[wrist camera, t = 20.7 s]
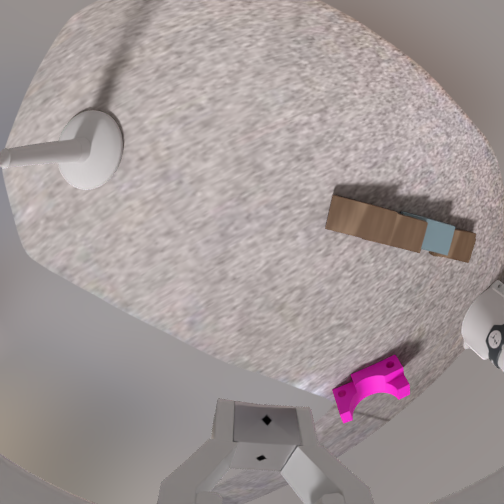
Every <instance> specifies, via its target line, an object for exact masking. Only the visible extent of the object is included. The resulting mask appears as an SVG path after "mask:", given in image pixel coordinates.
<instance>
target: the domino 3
mask: <svg viewBox="0 0 504 504" xmlns="http://www.w3.org/2000/svg"><path fill="white" fill-rule="evenodd" d="M401 214H403V215H406V216H410V217H414V218H417V219H421V220H424V221H426V222H428V225H427V229H426V233H425V236H424V240H423V244H422V247H421V249H424V250H428V251H432V252H436V253H440V254H444V255H447V256H448V252H449V249H450V245H451V242H452V238H453V234H454V230H455V226H453V225H451V224H447V223H444V222H440V221H437V220H433V219H430V218H426V217H422V216H419V215H415V214H411V213H407V212H403V211H401Z"/></svg>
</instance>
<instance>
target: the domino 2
mask: <svg viewBox="0 0 504 504" xmlns="http://www.w3.org/2000/svg"><path fill="white" fill-rule="evenodd" d="M427 225H428V222H426V221H424V220H421V219H417V218H414V217H410V216H406V215H403V214H399V213H398V214H397V218H396V222H395V225H394V229H393V233H392V236H391V240H390V243H389V245H390V246H394V247H398V248H402V249H406V250H410V251H414V252H417V253H420V251H421V247H422V244H423V240H424V236H425V233H426V229H427ZM362 239H364V238H362ZM365 240H368V239H365ZM369 241H372V240H369ZM373 242H375V241H373ZM377 243H379V242H377ZM381 244H383V243H381ZM386 245H387V244H386Z"/></svg>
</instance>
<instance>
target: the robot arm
mask: <svg viewBox="0 0 504 504" xmlns="http://www.w3.org/2000/svg"><path fill="white" fill-rule="evenodd" d="M498 285H499V287H498ZM462 336H463V339H464V348H465V349H469V348H471V349H472V350H473V351H474V352H476V353H477V354H478V355H479V356H480V357H481V358H482V359H488V358H489V359H490V360H491V362H492V363H493V364H494V365H495V366H496V367H497V368H500V369H501V370H502V371H503V372H504V284H503V283H502V282H501V281H499V280H496V281H495V282H494V283H493V284H492V285H491V286H490V288H488V289H487V290H486V291H484V292H483V293H482V294H480V295H479V296H478V297H477V298H476V299H475V301H474V302H473V303H472V305H471V306H470V308H469V309H468V311H467V313H466V315H465V317H464V320H463V323H462ZM229 468H233V469H247V470H264V471H281V472H280V473H281V474H282V476H283V477H284V478H285V480H286V481H287V482H288V484H289V485H290V486H291V487H292V489H293V490H294V491H295V493H296V494H297V495H298V496H299V498H300V499H301V500H302V501H303V503H304V504H374V502H373V498H372V495H371V491H370V488H369V487H368V486H367V485H366V484H365V483H364V482H362V481H361V480H360V479H359V478H358V477H357V476H356V475H355V474H353V473H352V472H351V471H350V470H349V469H348V468H347V467H346V466H345V465H343V464H342V463H341V462H340V461H339V460H338V459H337V458H336V457H335V456H334V455H333V454H332V453H331V452H329V451H328V450H327V449H326V448H325V447H324V446H319V443H318V438H317V434H316V429H315V425H314V420H313V416H312V412H311V409H310V408H309V407H293V406H281V405H266V404H264V405H262V404H253V403H246V402H240V401H232V400H226V399H220V398H218V400H217V405H216V410H215V415H214V420H213V426H212V433H211V439H209V440H207V441H206V442H205V443H204V444H203V445H202V446H201V447H200V448H199V449H198V450H197V451H196V452H195V453H194V454H192V455H191V456H190V457H189V458H188V459H187V460H186V461H185V462H184V463H183V464H182V465H180V466H179V467H178V468H177V469H176V470H175V471H174V472H173V473H171V474H170V475H169V476H168V477H167V478H166V479H164V480H163V481H162V482H161V486H160V491H159V496H158V501H157V504H222V496H220V495H219V494H218V493H215V492H210V491H211V490H212V489H213V488H214V487H215V486H216V484H217V483H218V482H219V481H220V480H221V478H222V477H223V476H224V475H225V474H226V473H227V471H228V470H229ZM0 504H96V503H93V502H91V501H88V500H86V499H84V498H81V497H79V496H76V495H74V494H72V493H70V492H67V491H65V490H63V489H61V488H59V487H57V486H55V485H53V484H51V483H49V482H47V481H45V480H43V479H41V478H40V477H38V476H36V475H34V474H32V473H31V472H29V471H27V470H26V469H24V468H22V467H20V466H19V465H17V464H16V463H14V462H13V461H11V460H10V459H8V458H7V457H5V456H4V455H2V454H1V453H0ZM428 504H504V466H503V467H501V468H500V469H498V470H496V471H495V472H493V473H491V474H489V475H488V476H486V477H485V478H483V479H480V480H479V481H477V482H475V483H473V484H471V485H469V486H467V487H465V488H463V489H461V490H459V491H457V492H455V493H452V494H450V495H448V496H446V497H443V498H441V499H439V500H436V501H433V502H431V503H428Z"/></svg>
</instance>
